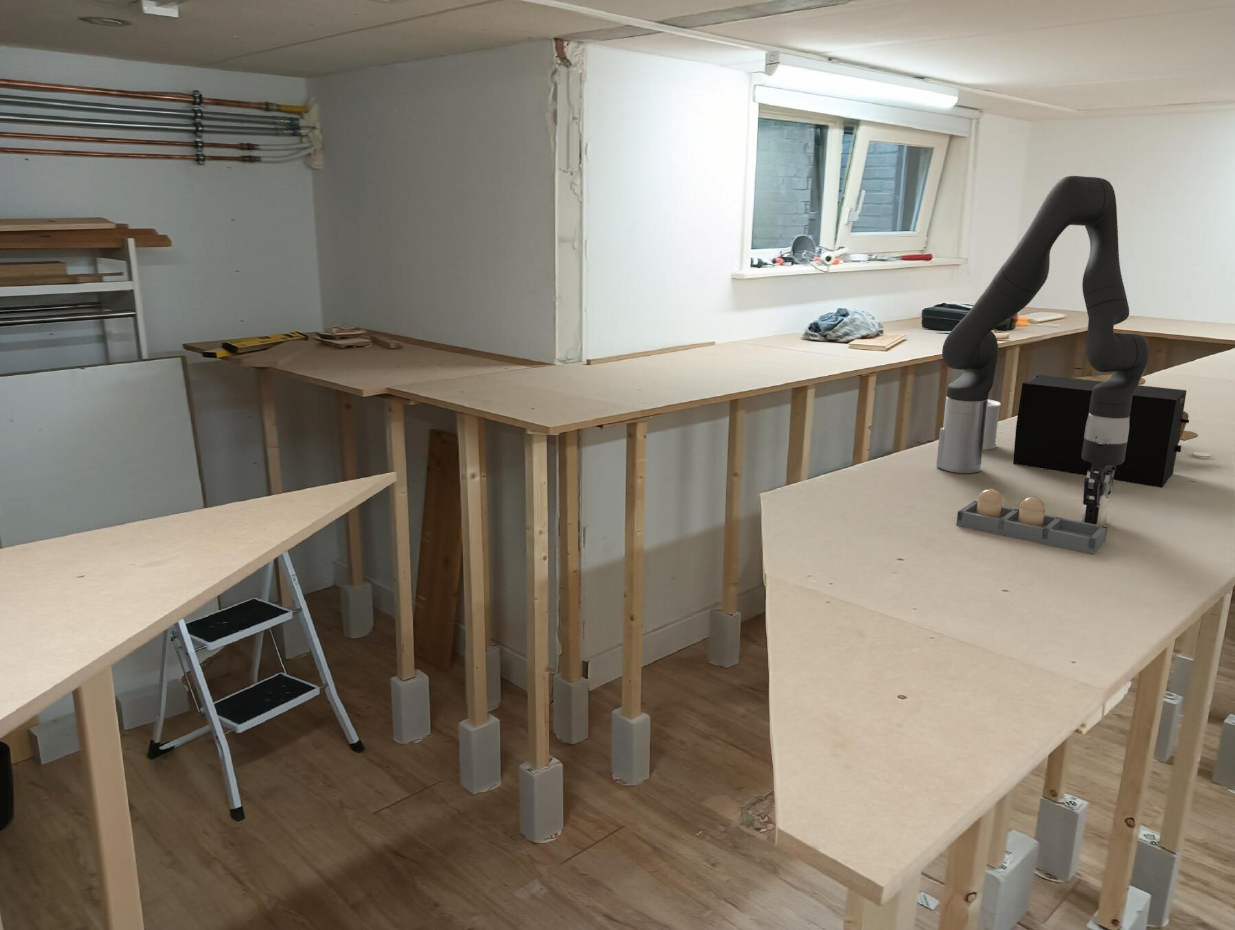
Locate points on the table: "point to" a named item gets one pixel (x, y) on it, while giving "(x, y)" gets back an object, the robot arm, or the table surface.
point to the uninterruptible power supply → (1060, 419)
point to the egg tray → (1037, 529)
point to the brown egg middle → (1032, 511)
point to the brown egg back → (989, 503)
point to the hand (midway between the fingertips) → (1093, 520)
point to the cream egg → (1102, 511)
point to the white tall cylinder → (991, 425)
